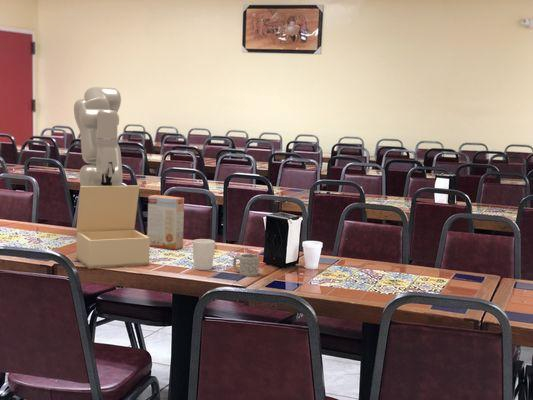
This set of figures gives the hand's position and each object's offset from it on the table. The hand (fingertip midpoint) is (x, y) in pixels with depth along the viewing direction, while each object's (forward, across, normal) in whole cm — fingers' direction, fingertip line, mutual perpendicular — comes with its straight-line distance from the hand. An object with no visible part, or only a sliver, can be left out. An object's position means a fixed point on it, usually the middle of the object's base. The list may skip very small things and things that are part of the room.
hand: (106, 192), depth 286 cm
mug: (+26, +40, +39) cm, 61 cm away
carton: (+25, +9, 0) cm, 26 cm away
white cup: (+25, +28, +28) cm, 47 cm away
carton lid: (+6, +3, 0) cm, 6 cm away
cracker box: (+24, -12, +28) cm, 39 cm away
